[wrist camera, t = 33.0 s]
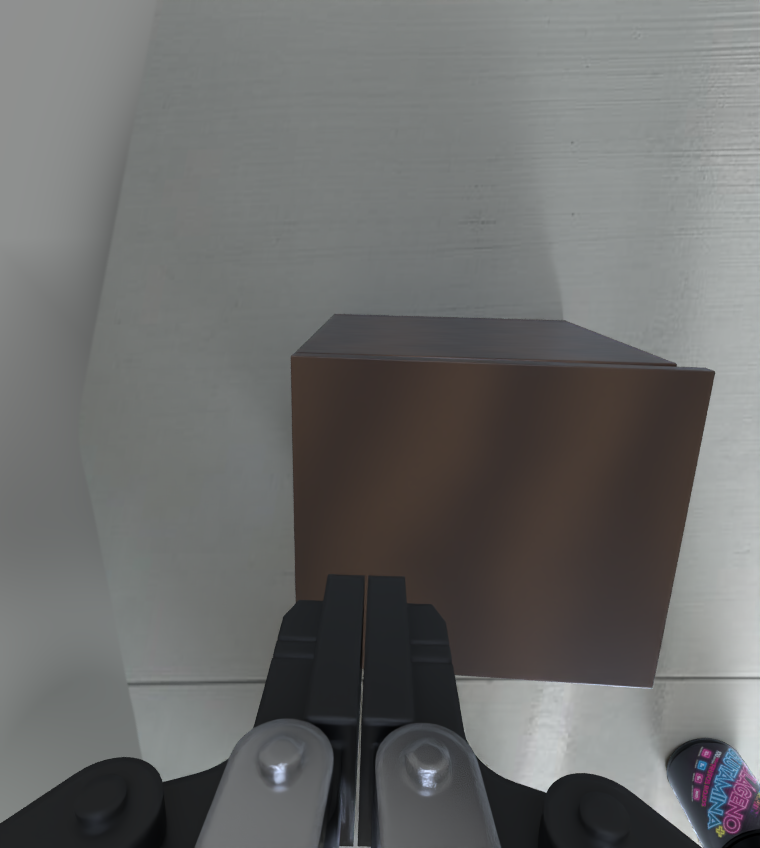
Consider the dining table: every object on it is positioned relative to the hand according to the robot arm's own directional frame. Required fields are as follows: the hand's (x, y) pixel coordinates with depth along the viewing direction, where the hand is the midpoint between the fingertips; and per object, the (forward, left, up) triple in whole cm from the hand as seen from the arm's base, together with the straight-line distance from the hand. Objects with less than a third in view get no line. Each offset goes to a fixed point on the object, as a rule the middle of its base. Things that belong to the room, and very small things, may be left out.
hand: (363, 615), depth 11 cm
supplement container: (+7, -47, -32) cm, 57 cm away
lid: (+2, -7, -15) cm, 16 cm away
